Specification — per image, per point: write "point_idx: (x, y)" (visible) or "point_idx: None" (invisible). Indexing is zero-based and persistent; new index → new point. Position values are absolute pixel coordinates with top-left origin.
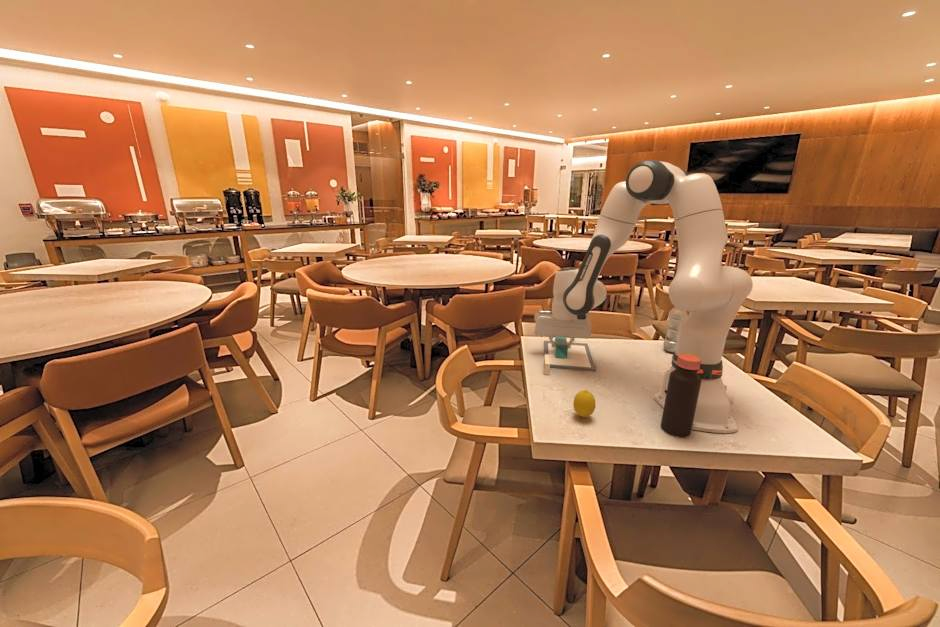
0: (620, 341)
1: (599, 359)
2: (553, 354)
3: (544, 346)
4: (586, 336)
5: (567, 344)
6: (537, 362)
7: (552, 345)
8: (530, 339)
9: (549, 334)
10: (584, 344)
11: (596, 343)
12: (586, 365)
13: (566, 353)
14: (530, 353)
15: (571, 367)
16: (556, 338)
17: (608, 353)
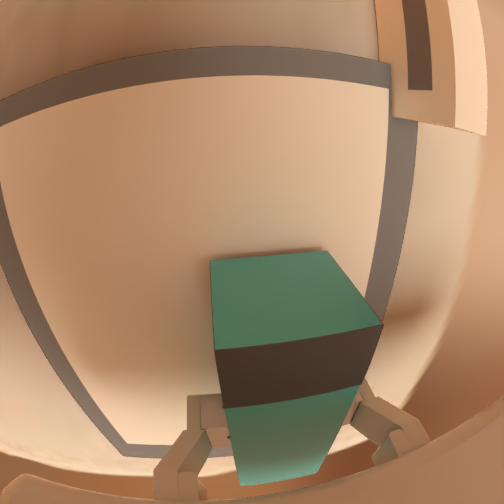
0: (42, 457)
1: (8, 328)
2: None
3: None
4: (30, 496)
5: (221, 424)
6: (443, 163)
7: None
8: None
9: (452, 449)
10: (132, 451)
11: (98, 457)
12: (22, 152)
13: (220, 289)
14: (442, 297)
15: (159, 52)
16: (317, 459)
17: (15, 393)
